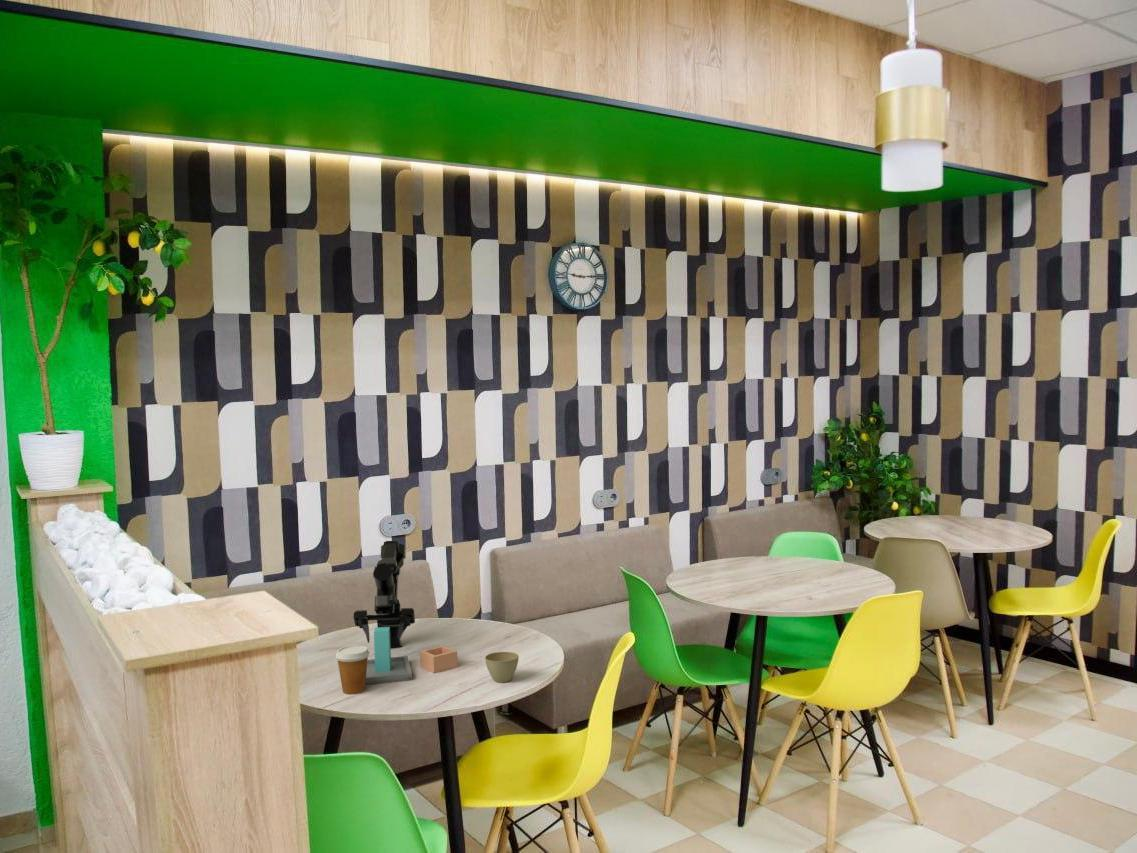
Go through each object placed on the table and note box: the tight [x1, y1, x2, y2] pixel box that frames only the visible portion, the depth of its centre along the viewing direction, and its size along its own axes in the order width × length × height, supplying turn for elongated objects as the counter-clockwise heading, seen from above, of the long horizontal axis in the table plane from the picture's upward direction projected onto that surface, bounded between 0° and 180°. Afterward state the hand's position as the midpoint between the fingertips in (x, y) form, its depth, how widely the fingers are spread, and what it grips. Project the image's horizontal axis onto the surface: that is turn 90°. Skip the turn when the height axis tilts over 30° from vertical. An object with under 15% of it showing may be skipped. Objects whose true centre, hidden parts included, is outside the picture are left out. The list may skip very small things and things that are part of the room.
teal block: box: [373, 627, 392, 672], centre depth 280 cm, size 4×4×12 cm
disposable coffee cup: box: [335, 645, 370, 695], centre depth 265 cm, size 10×10×12 cm
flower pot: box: [484, 651, 519, 683], centre depth 271 cm, size 10×10×7 cm
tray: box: [365, 655, 413, 686], centre depth 280 cm, size 18×16×2 cm
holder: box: [419, 645, 458, 674], centre depth 285 cm, size 8×8×5 cm
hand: (383, 641), depth 284 cm, fingers open, 9 cm apart
